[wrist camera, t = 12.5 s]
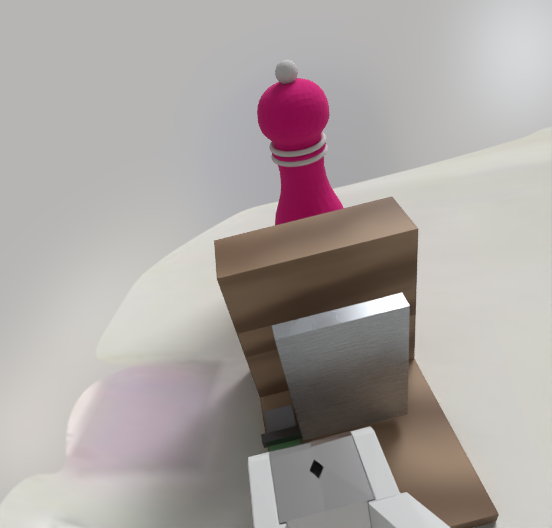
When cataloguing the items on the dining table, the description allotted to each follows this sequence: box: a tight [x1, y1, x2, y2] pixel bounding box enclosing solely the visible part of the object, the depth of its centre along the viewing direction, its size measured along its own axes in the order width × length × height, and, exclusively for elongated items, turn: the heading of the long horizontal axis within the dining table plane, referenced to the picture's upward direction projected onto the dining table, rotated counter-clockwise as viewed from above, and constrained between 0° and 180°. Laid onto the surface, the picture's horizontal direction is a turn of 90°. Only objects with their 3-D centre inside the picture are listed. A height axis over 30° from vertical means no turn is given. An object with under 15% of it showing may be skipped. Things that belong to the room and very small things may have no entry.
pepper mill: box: [257, 60, 344, 225], centre depth 38 cm, size 7×7×20 cm
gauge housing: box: [214, 197, 499, 528], centre depth 25 cm, size 15×12×13 cm
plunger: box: [261, 293, 410, 448], centre depth 29 cm, size 12×10×10 cm
